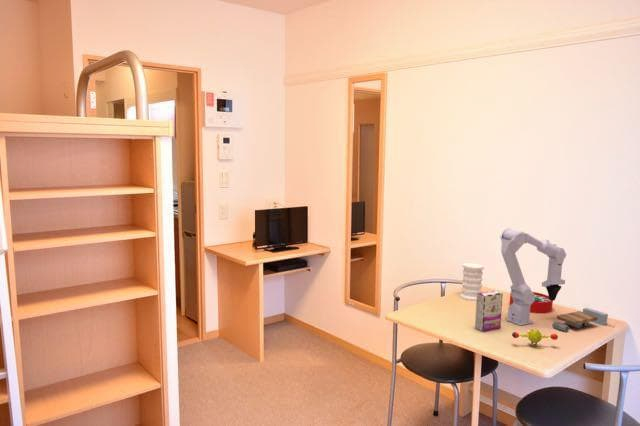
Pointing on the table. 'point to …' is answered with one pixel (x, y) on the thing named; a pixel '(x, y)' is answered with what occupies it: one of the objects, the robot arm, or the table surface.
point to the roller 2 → (574, 325)
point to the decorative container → (471, 281)
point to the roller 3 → (585, 324)
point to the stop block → (601, 316)
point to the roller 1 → (560, 326)
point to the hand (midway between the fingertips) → (551, 300)
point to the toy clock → (539, 303)
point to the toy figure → (534, 336)
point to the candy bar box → (488, 310)
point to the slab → (577, 318)
